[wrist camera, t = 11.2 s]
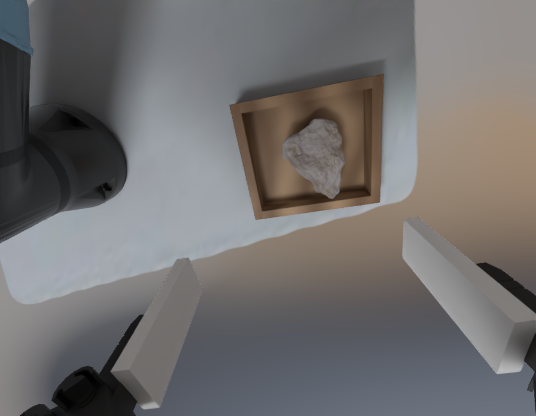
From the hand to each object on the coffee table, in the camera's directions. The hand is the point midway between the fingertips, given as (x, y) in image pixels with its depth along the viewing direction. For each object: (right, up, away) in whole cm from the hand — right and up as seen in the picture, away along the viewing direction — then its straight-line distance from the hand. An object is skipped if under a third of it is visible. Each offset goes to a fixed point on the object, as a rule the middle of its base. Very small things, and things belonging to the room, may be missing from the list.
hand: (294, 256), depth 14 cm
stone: (+5, +11, +19) cm, 22 cm away
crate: (+4, +11, +20) cm, 23 cm away
